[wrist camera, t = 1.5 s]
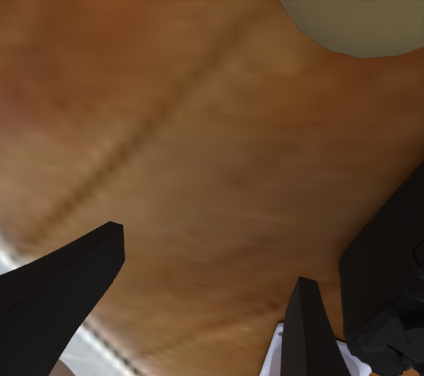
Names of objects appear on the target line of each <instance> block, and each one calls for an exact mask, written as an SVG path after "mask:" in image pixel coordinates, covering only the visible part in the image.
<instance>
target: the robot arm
mask: <svg viewBox="0 0 424 376" xmlns="http://www.w3.org/2000/svg"><path fill="white" fill-rule="evenodd" d="M124 262H125V252H124V232H123V225H121V224H118V223H115V222H111V221H109V222H107V223H105V224H104V225H102V226H100V227H98V228H96V229H95V230H93V231H91V232H89V233H88V234H86V235H84V236H82V237H80V238H78V239H77V240H75V241H73V242H71V243H69V244H67V245H66V246H64V247H62V248H60V249H58V250H56V251H54V252H52V253H50V254H48V255H46V256H44V257H42V258H40V259H38V260H35V261H33V262H31V263H29V264H27V265H24V266H22V267H19V268H17V269H15V270H12V271H10V272H7V273H5V274H2V275H0V376H49V374H50V372H51V371H52V369H53V367H54V366H55V364H56V362H57V361H58V359H59V357H60V356H61V354H62V352H63V351H64V349H65V348H66V346H67V344H68V343H69V341H70V339H71V338H72V336H73V335H74V334H75V332H76V331H77V329H78V328H79V326H80V325H81V324H82V323H83V321H84V320H85V319H86V317H87V316H88V315H89V313H90V312H91V311H92V309H93V308H94V307H95V305H96V304H97V303H98V301H99V300H100V299H101V297H102V296H103V295H104V293H105V292H106V291H107V289H108V288H109V287H110V285H111V284H112V283H113V281H114V279H115V278H116V276H117V274H118V272H119V271H120V269H121V267H122V265H123V263H124ZM371 372H372V370H371V368H370V366H369V365H368V364H365V363H362V362H361V361H360V360H359V359H358V358H357V357H355V356H352V355H351V354H350V352H349V350H348V349H347V344H346V343H343V342H340V341H337V340H336V339H335V336H334V334H333V331H332V328H331V326H330V323H329V320H328V317H327V314H326V311H325V308H324V305H323V302H322V298H321V295H320V291H319V287H318V284H317V282H316V281H314V280H311V279H307V278H304V277H300V276H299V278H298V280H297V283H296V286H295V288H294V291H293V293H292V296H291V299H290V301H289V304H288V307H287V309H286V313H285V320H284V323H279V324H278V325H277V327H276V330H275V333H274V335H273V338H272V341H271V344H270V347H269V349H268V352H267V355H266V358H265V361H264V363H263V366H262V369H261V372H260V375H259V376H369V374H370V373H371Z"/></svg>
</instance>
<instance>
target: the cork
mask: <svg viewBox="0 0 424 376" xmlns="http://www.w3.org/2000/svg"><path fill="white" fill-rule="evenodd" d="M280 3H281V4H282V6H283V7H284V8H285V10H286V11H287V13H288V14H289V16H290V17H291V18H292V20H293V21H294V23H295V24H296V25H297V27H298V28H299V30H300V31H301V32H303V33H304V34H305V35H307V36H308V37H310V38H311V39H313V40H314V41H316V42H317V43H319V44H320V45H321V46H323V47H324V48H326V49H327V50H330V51H334V52H338V53H342V54H346V55H350V56H354V57H358V58H372V57H386V56H399V55H402V54H405V53H408V52H410V51H413V50H416V49H419V48H421V47H424V0H280Z"/></svg>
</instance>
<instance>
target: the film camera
mask: <svg viewBox="0 0 424 376" xmlns="http://www.w3.org/2000/svg"><path fill="white" fill-rule="evenodd" d="M339 273H340V284H341V299H342V314H343V334H344V337H345V340H346V343H347V349H348V350H349V352H350V354H351V355H352V356H355V357H357V358H358V359H359V360H360V361H361V362H362V363H365V364H368V365H369V366H370V368H371V370H372V372H374V373H376V374H378V375H380V376H399V375H402V374H403V371H407V370H409V369H410V368H411V367H412V366H413V369H414V370H416V371H417V372H419V375H420V376H424V161H423V162H422V163H421V164H420V166H419V167H418V168H417V169H416V170H415V171H414V172H413V173H412V174H411V176H410V177H409V178H408V179H407V180H406V181H405V182H404V183H403V184H402V185H401V186H400V187H399V189H398V190H397V191H396V192H395V193H394V194H393V195H392V197H391V198H390V199H389V200H388V201H387V202H386V204H385V205H384V206H383V207H382V208H381V209H380V210H379V212H378V213H377V214H376V215H375V216H374V217H373V219H372V220H371V221H370V222H369V223H368V224H367V225H366V226H365V228H364V229H363V230H362V231H361V233H360V234H359V235H358V236H357V238H356V239H355V240H354V241H353V243H352V244H351V245H350V246H349V248H348V249H347V250H346V252H345V253H344V255H343V256H342V258H341V260H340V262H339Z"/></svg>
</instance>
